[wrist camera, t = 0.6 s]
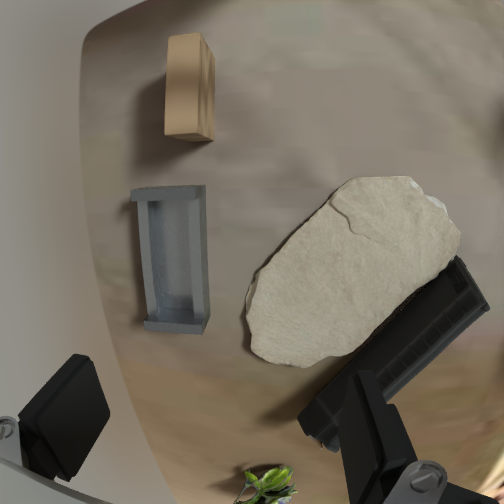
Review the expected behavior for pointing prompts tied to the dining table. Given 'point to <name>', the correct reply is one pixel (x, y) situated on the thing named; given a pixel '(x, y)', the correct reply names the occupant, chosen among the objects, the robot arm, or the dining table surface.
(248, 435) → the dining table surface
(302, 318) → the stone tablet
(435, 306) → the magazine
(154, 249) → the grey open holder
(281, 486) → the green leafy plant
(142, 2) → the dining table surface
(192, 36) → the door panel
